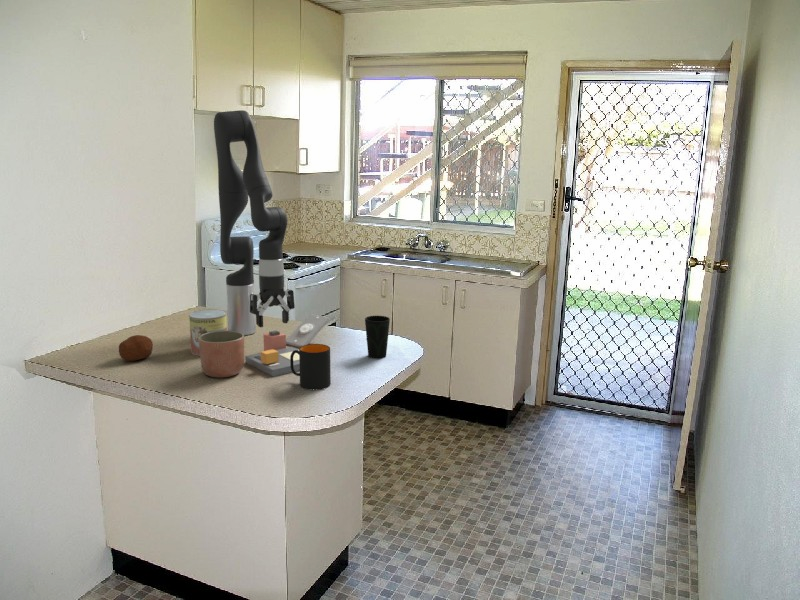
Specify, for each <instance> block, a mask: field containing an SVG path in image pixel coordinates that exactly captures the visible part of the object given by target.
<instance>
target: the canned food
mask: <svg viewBox="0 0 800 600" xmlns="http://www.w3.org/2000/svg"><path fill="white" fill-rule="evenodd" d="M188 316H189V319H188V320H189V334H190V352H191V354H192V355H194V356H199V357H200V350H199V339H198V338H199V336H201V335H202V334H205V333H209V332H214V331H228V318H227V311H225V310H221V309H201V310H196V311H192V312H190V313H189V314H188Z"/></svg>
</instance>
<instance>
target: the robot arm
mask: <svg viewBox="0 0 800 600" xmlns="http://www.w3.org/2000/svg"><path fill="white" fill-rule="evenodd" d="M213 131H214V139H215V148H216V157H217V173H218V180H217V181H218V183H217V185H218V186H217V187H218V203H219V216H220V217H219V218H220V231H219V232H220V234H219V235H220V240H219V242H220V243H219V250H220V251H219V253H220V259H221V262H222V263H223V264H224V265H243V266H242V267H241V268H240V269H239V270H236V271H234V272H232V273H229V274H227V275H226V278H225V282H226V284H225V285H226V313H227V314H226V317H227V331H236V332H240V333H242V334H243V335H244V336H249V335H252V334H255V333H256V331H257V330H256V329H257V328H256V327H259V328H264V316H263V314H264V312H265V311H266V310H267V309H268V308H269V307H270V308H271V307H274V306H276V307H277V306H279V307H280V308H281V309H282V310H281V319H282V320H281V322H282V323H283V324H288V323H289V322H290V311H291V310H294V309H295V308H296V307H295V306H296V305H295V294H294V290H292V289H290V288H288V289H285V269H284V268H285V266H284V259H283V258H284V256H283V255H284V254H283V243H284V240H285V236H286V232H287V228H288V216H287V212H286V211H285V210H284V208H282V207H281V206H271V207H266V203H268V202H269V201H271V200H272V199H273V190H272V188H271V185H270V183H269V180H268V178H267V174H266V173H265V168H264V165H263V161H262V157H261V151H260V147H259V142H258V138H257V133H256V129H255V125H254V121H253V119H252V117H251V115H250V114H249V112H248V111H246V110H239V109H238V110H227V111H220V112H216V114H215V115H214V118H213ZM238 142H243V143H244V145H245V148H246V157H245V162H244V164H243V170H242V169H241V168H240V167H239V166H238V164H237V163H236V161H235V159H234V158H233V155H232V151H231V143H238ZM248 203H249V206H250V217H251V223H252V225H253V227H254V228H255V229H256V230H257V231H258V232H269V234H268V236H267V237H265V238H263V239H261V240H259V243H258V256H259V257H258V258H259V259H258V285H259V287H258V288H259V292H258V293H255V277H254V276H255V275H254V256H255V255H254V250H255V249H254V248H255V247H254V242H253V239H252V237H251V236H245V235H244V236H231V234H232V231H233V228H234V226H235V224H236V222H237V221H238V219H239V217H240V216H241V214H242V213H243V212H244V210H245V209H246V207H247V205H248ZM285 297H286V301H285V300H284V298H285ZM259 299H260V302H259ZM258 302H259V303H258Z"/></svg>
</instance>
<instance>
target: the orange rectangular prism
mask: <svg viewBox="0 0 800 600" xmlns="http://www.w3.org/2000/svg"><path fill="white" fill-rule="evenodd" d="M260 353H261V362H263V363H265V364H270V363H274V362H279V359H278V351H276V350H274V349H272V350H267V351H264V350H263V351H260Z"/></svg>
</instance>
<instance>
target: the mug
mask: <svg viewBox="0 0 800 600" xmlns="http://www.w3.org/2000/svg"><path fill="white" fill-rule="evenodd" d="M298 350H299V351H298ZM298 350H294V351H293V352H292V353H291V356H290V365H291V370H292V372H291V373H292V374H293V375H294V376H297V377H299V385H300V388H302V389H304V390H308V389H312V390H311V391H317V390H316V389H320V390H324V388H325V389H327V388H329V387H330V386H331V382H332V381H331V378H332V377H331V372H332V371H331V347H330V346H329V345H327V344H323V343H309V344H308V345H304V346H301V347H300V348H299V347H298ZM295 353H298V354H299V362H300V370H299V372H297V371H295V370H294V367H293V356H294V354H295ZM313 389H314V390H313Z"/></svg>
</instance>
